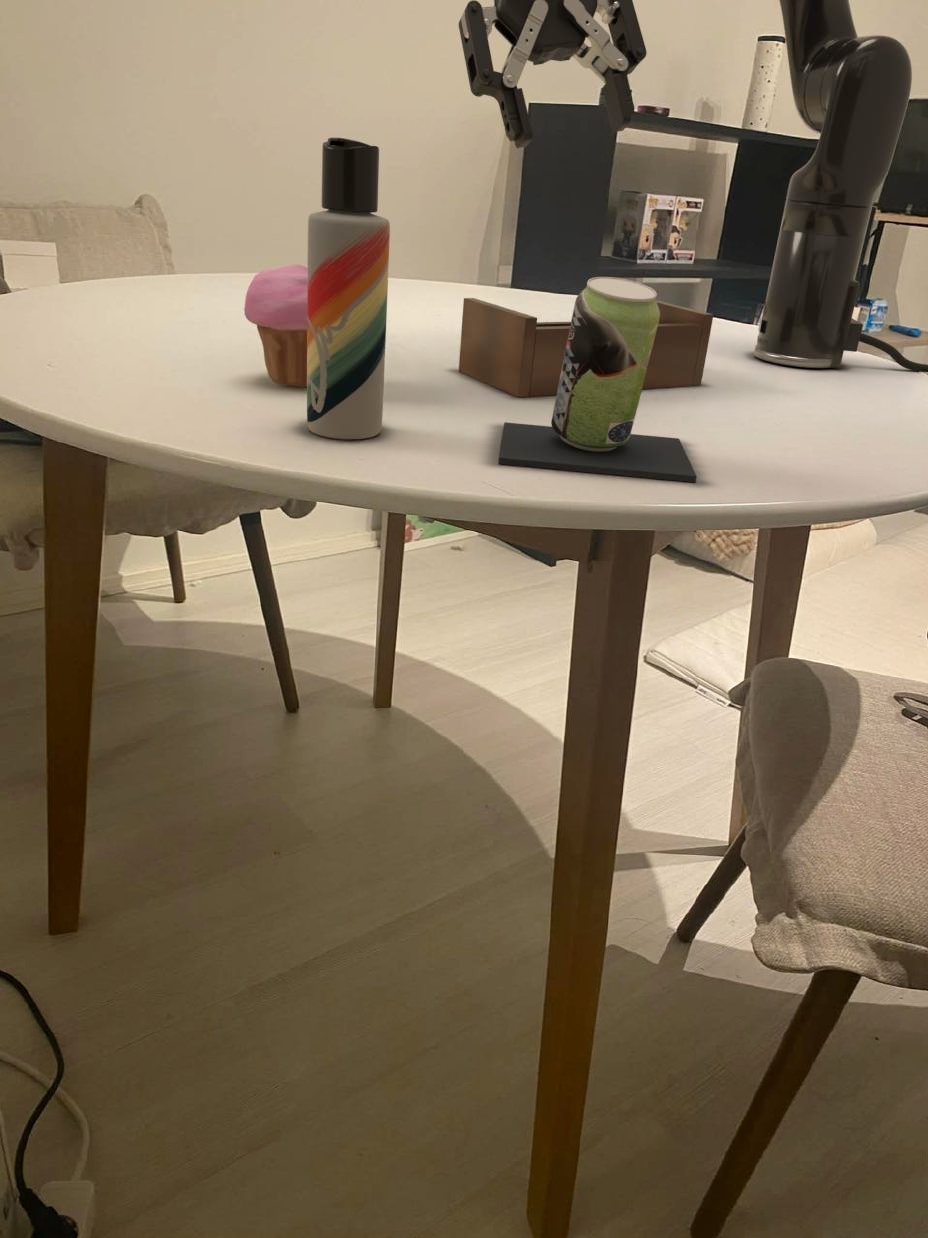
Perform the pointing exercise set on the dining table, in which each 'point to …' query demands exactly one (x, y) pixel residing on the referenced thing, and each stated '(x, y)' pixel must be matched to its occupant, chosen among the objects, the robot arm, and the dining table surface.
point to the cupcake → (281, 321)
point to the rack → (534, 351)
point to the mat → (595, 454)
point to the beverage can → (605, 363)
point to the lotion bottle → (347, 296)
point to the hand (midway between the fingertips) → (574, 135)
